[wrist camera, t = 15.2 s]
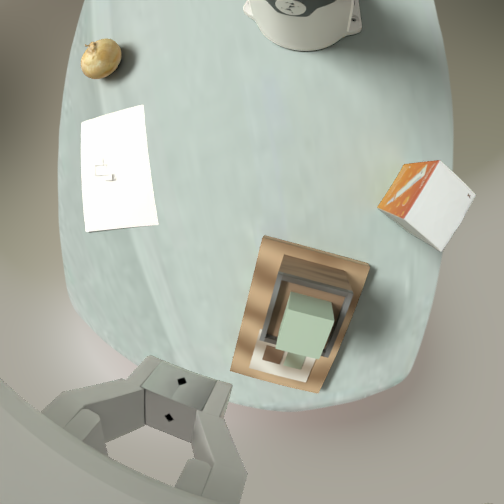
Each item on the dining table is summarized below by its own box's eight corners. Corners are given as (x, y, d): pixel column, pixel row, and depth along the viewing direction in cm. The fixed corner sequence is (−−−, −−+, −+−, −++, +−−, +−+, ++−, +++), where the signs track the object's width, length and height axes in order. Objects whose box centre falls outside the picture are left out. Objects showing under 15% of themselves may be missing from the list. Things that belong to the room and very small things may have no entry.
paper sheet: (85, 110, 44) (82, 109, 43) (232, 92, 40) (230, 89, 39) (82, 230, 50) (78, 231, 49) (225, 240, 46) (223, 242, 45)
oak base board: (264, 235, 43) (250, 253, 33) (367, 263, 41) (385, 289, 31) (232, 364, 50) (215, 403, 39) (318, 386, 48) (317, 429, 37)
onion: (133, 60, 40) (111, 47, 33) (103, 90, 42) (78, 82, 35) (117, 38, 39) (96, 25, 32) (89, 66, 41) (66, 57, 35)
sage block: (290, 291, 34) (287, 309, 29) (331, 301, 33) (334, 321, 29) (279, 327, 35) (275, 348, 31) (318, 337, 35) (319, 359, 30)
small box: (403, 163, 37) (440, 157, 25) (434, 189, 37) (478, 194, 24) (375, 207, 39) (402, 219, 27) (406, 232, 39) (442, 253, 27)
